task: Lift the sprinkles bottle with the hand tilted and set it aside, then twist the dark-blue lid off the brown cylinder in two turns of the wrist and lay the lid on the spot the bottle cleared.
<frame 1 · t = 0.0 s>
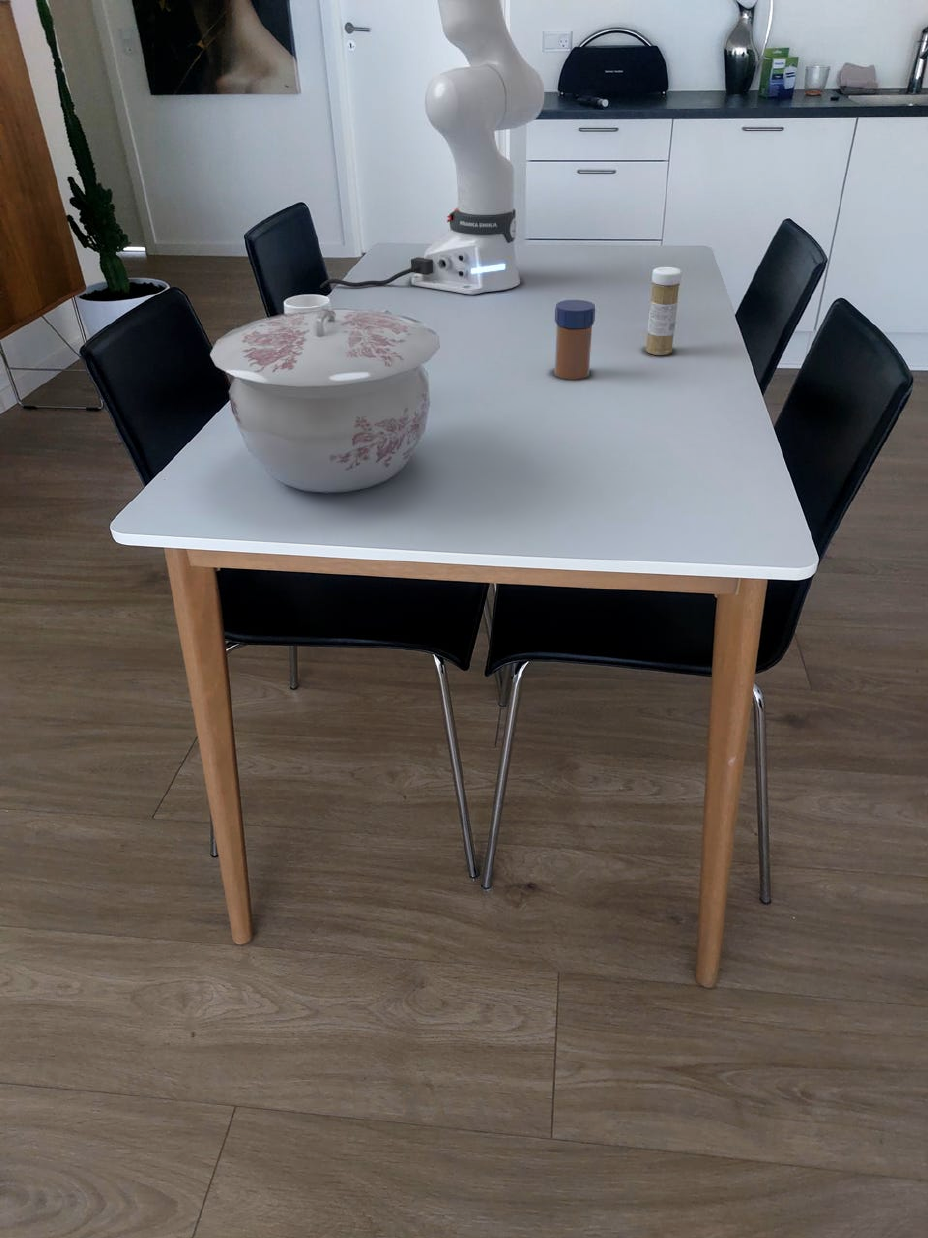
sprinkles bottle: (658, 352, 160), on the table
brown cylinder: (571, 373, 152), on the table
lid: (575, 307, 146), point 10 cm above the table, screwed on, not yet turned
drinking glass: (317, 402, 143), on the table
chamber pot: (340, 470, 123), on the table
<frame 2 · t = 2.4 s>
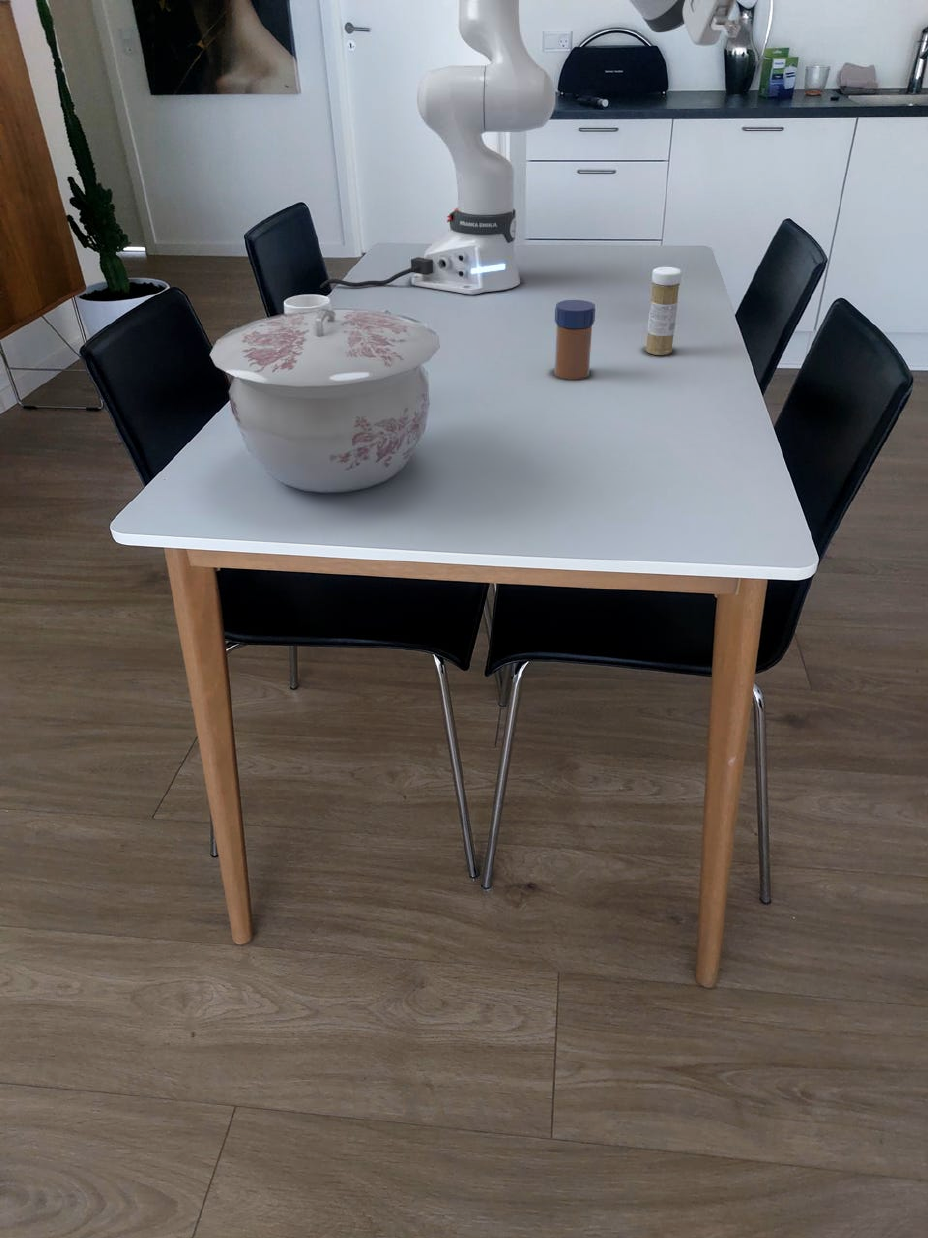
nothing on the table moved.
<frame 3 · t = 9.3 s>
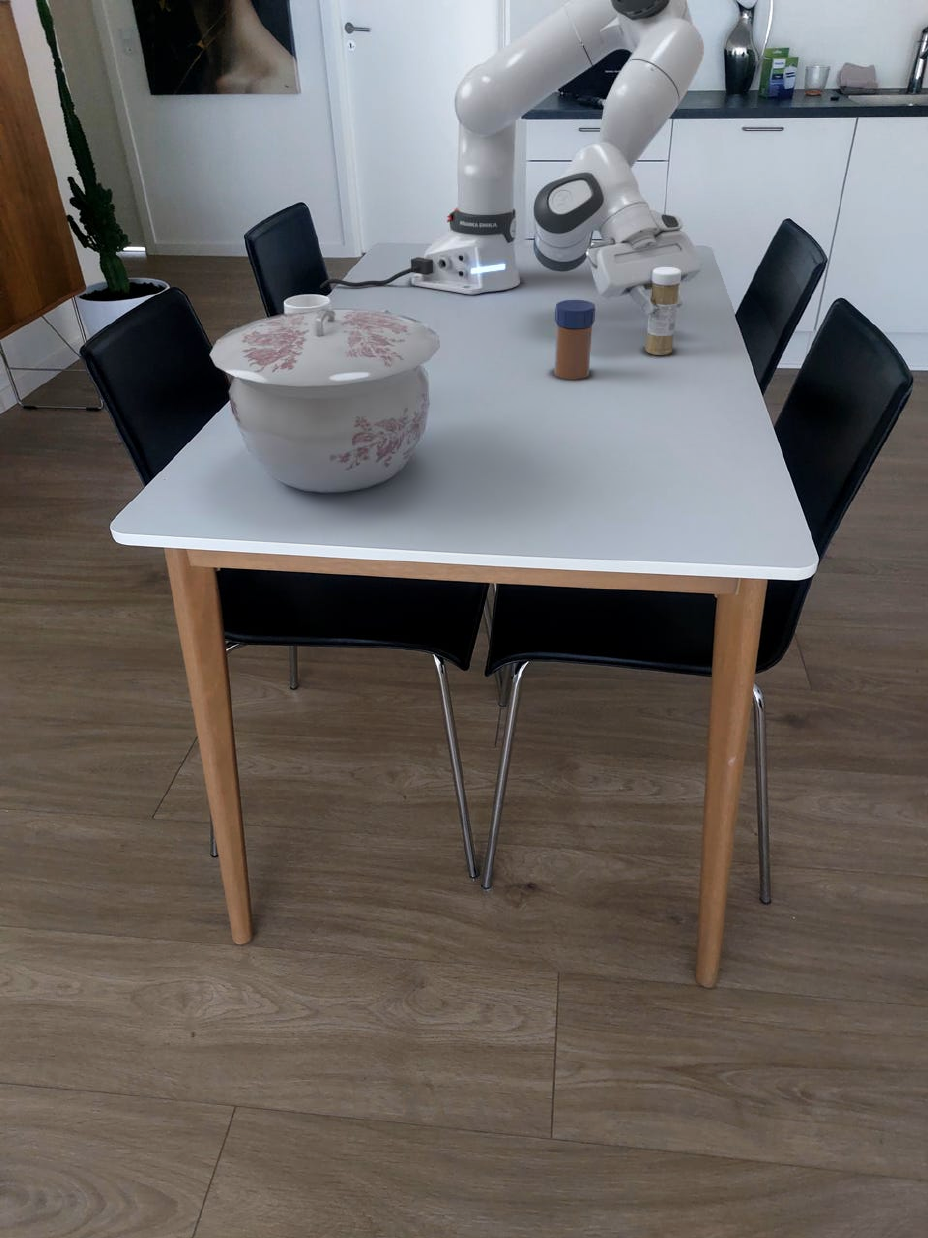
hand: (665, 309, 155), 7 cm above the table, tool tilted 45°, fingers closed on sprinkles bottle, 4 cm apart
sprinkles bottle: (658, 352, 160), on the table, touching gripper
everything else where it was.
when the fingers open (7 cm above the table, at t = 17.4 s): sprinkles bottle stays where it is, on the table.
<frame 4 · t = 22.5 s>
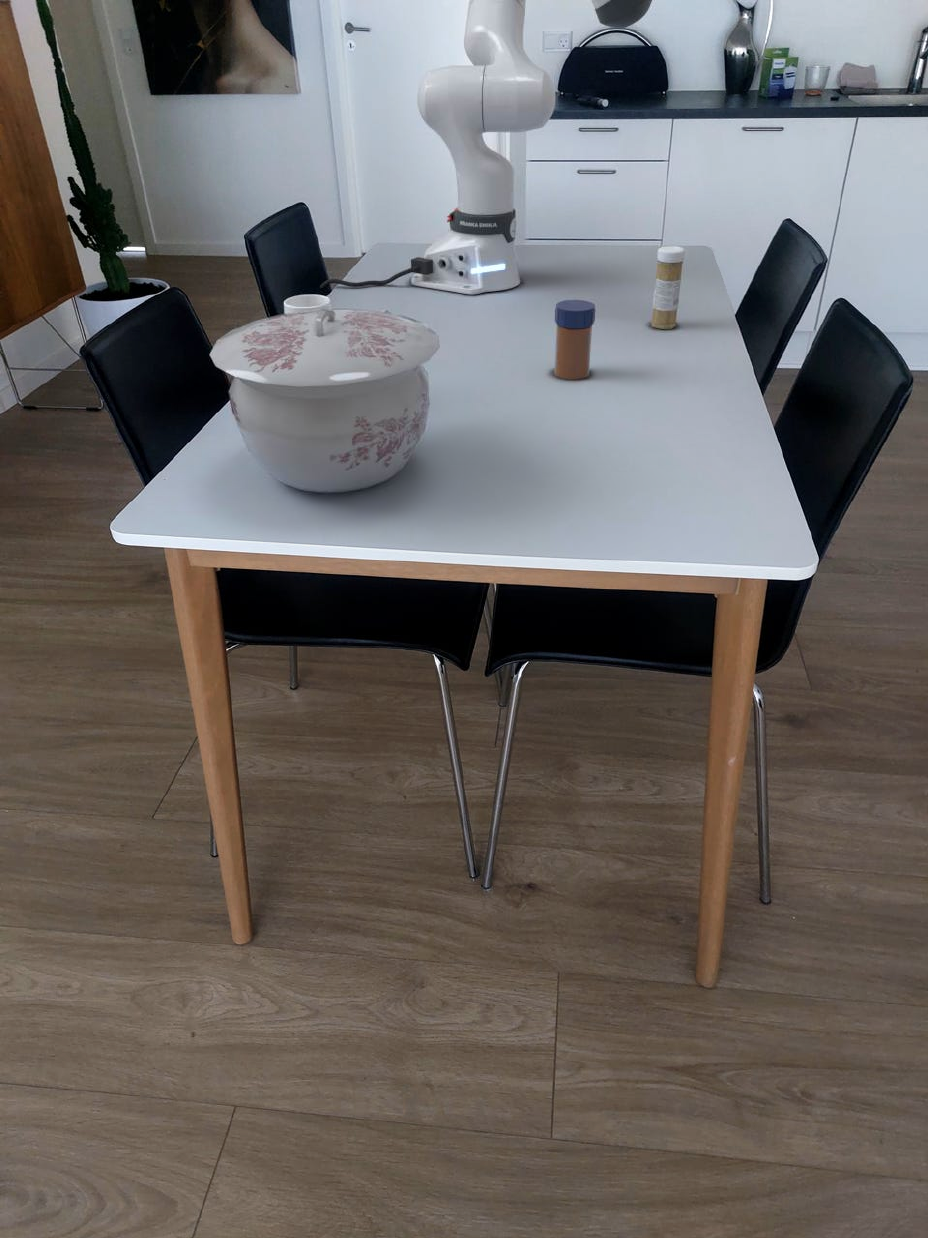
sprinkles bottle: (663, 327, 171), on the table
everything else where it was.
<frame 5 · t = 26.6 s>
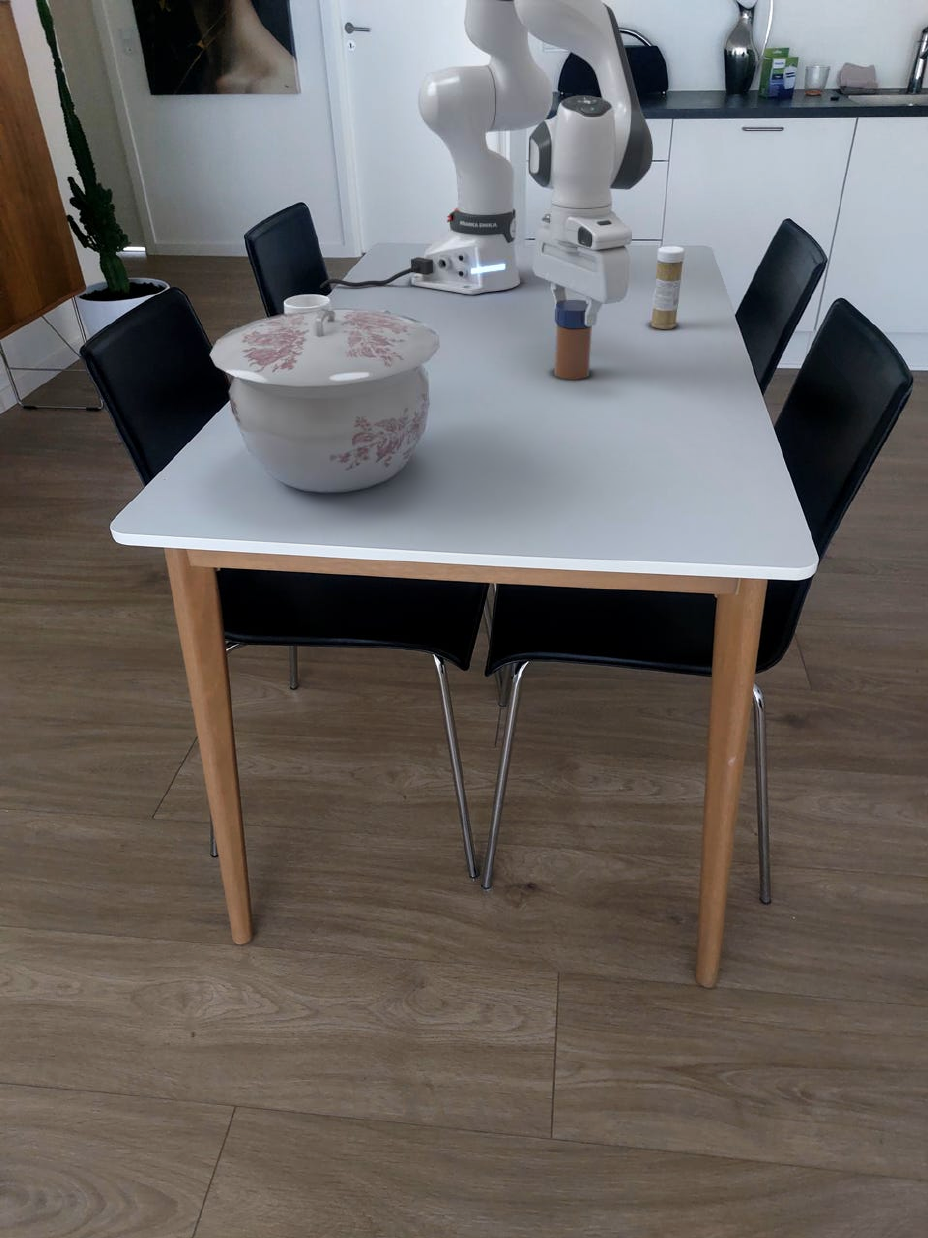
hand: (574, 318, 147), 9 cm above the table, tool pointing down, fingers closed on lid, 6 cm apart
lid: (575, 307, 146), point 10 cm above the table, screwed on, not yet turned, touching gripper
everything else where it was.
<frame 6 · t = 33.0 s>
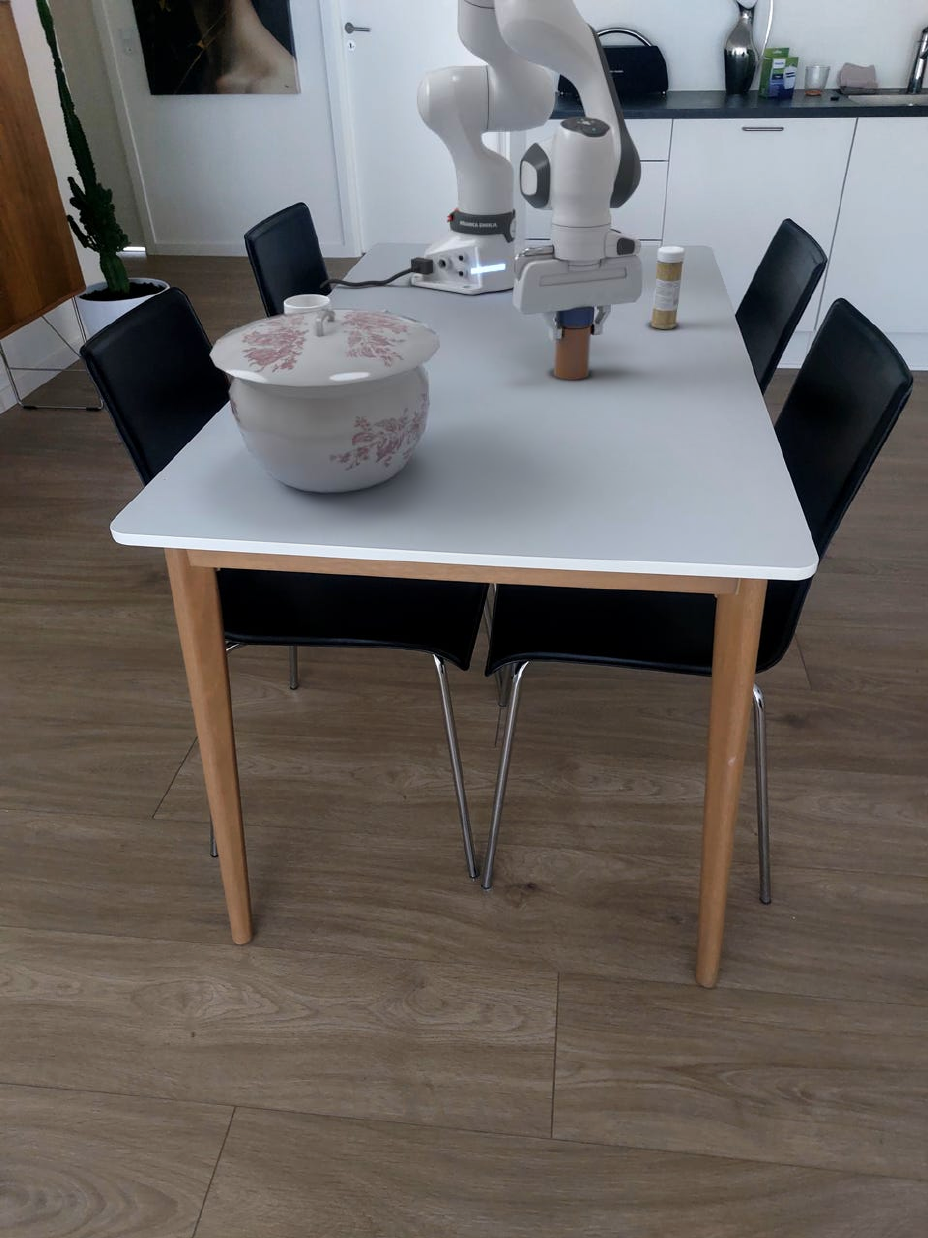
hand: (575, 336, 147), 6 cm above the table, tool pointing down, fingers closed on brown cylinder, 5 cm apart
brown cylinder: (571, 373, 152), on the table, touching gripper
lid: (574, 305, 145), point 11 cm above the table, turned 78° so far, risen 0.3 cm, still on its thread
everything else where it was.
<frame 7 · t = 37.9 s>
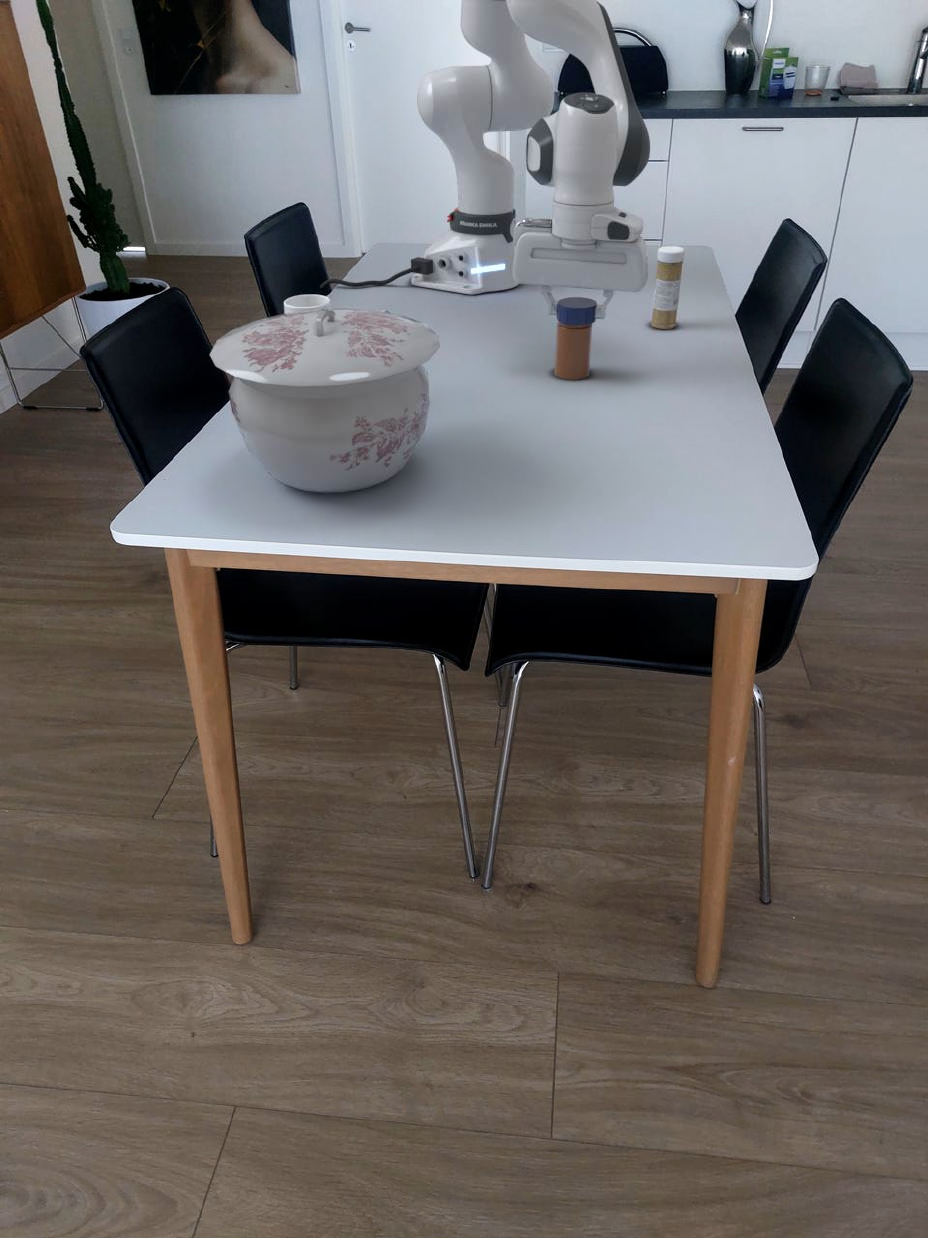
hand: (576, 316, 146), 9 cm above the table, tool pointing down, fingers closed on lid, 6 cm apart
brown cylinder: (571, 373, 152), on the table, touching lid
lid: (577, 304, 145), point 11 cm above the table, off its thread, touching gripper, brown cylinder
everything else where it was.
when the fingers open (0 cm above the table, at t = 49.1 s): lid stays where it is, point 2 cm above the table.
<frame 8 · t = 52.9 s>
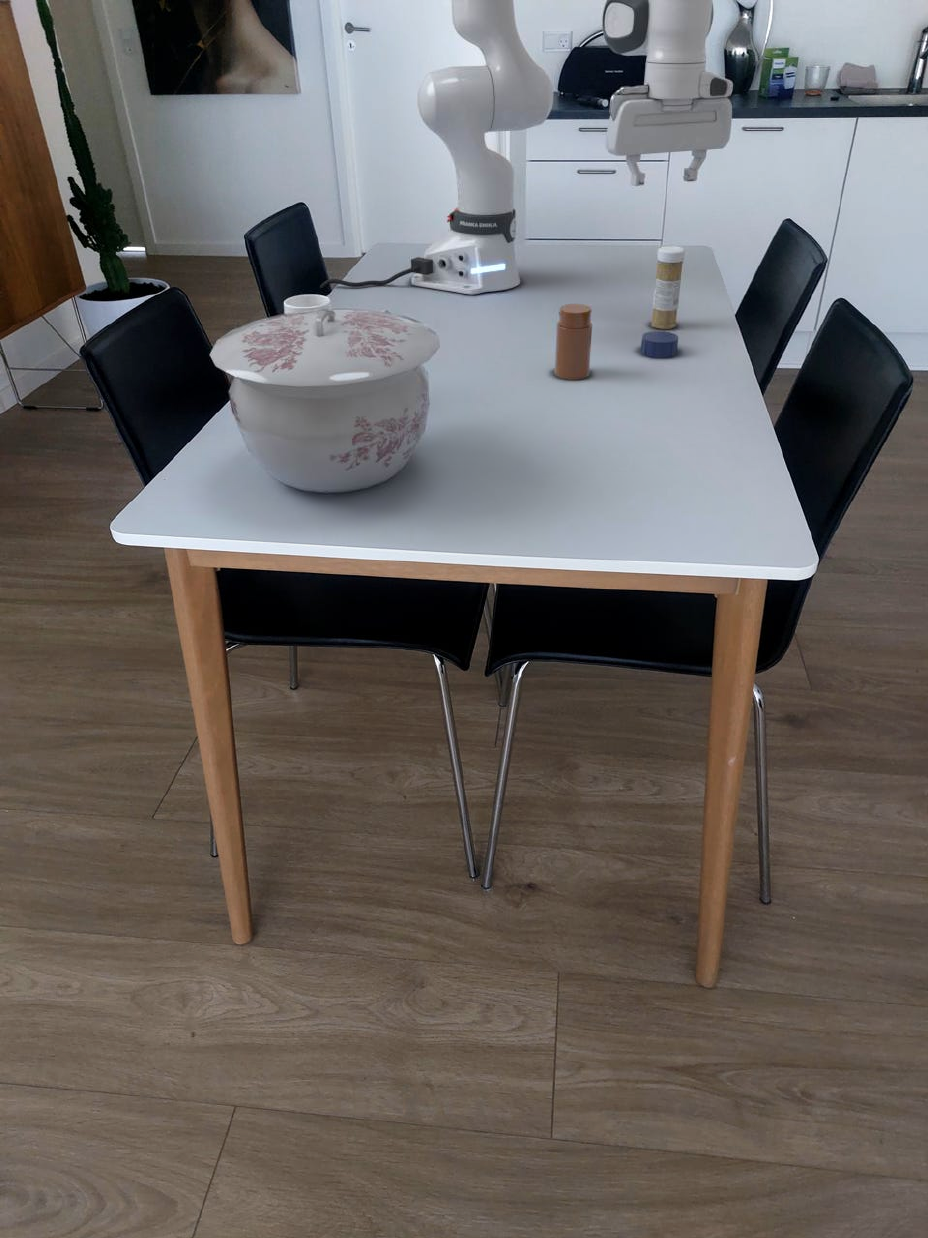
hand: (663, 182, 151), 25 cm above the table, tool pointing down, fingers open, 8 cm apart
brown cylinder: (571, 373, 152), on the table
lid: (660, 338, 158), point 2 cm above the table, off its thread
everything else where it was.
at the end: lid came off its thread; lid point 2.3 cm above the table; sprinkles bottle inside the target area (0.1 cm from its centre), on the table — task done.
